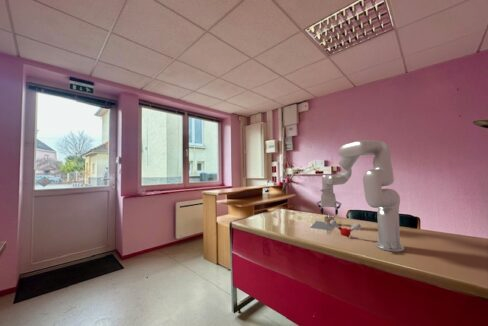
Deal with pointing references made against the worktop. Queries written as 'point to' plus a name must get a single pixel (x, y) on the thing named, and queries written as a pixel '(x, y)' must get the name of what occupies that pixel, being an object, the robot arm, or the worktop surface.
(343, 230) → the molecular model
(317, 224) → the lacing board
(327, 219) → the bead
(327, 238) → the worktop surface
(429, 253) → the worktop surface
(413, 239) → the worktop surface
